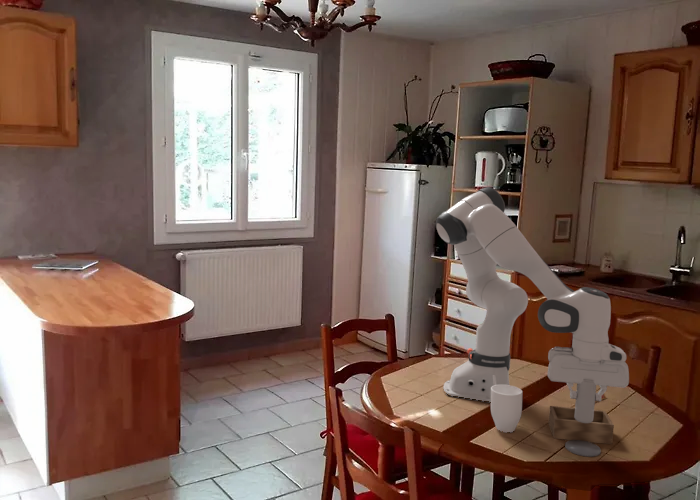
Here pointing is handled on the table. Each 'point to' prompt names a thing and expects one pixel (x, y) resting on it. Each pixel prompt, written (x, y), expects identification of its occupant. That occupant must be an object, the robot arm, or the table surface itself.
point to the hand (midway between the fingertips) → (585, 399)
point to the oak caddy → (580, 426)
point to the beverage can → (585, 401)
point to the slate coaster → (582, 448)
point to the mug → (506, 406)
